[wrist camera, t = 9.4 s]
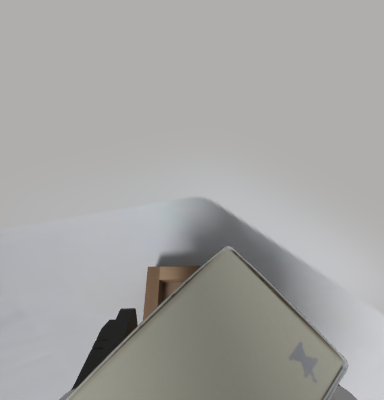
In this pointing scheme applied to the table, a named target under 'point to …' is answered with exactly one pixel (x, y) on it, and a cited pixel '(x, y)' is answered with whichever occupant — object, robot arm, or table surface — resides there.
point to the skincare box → (220, 345)
